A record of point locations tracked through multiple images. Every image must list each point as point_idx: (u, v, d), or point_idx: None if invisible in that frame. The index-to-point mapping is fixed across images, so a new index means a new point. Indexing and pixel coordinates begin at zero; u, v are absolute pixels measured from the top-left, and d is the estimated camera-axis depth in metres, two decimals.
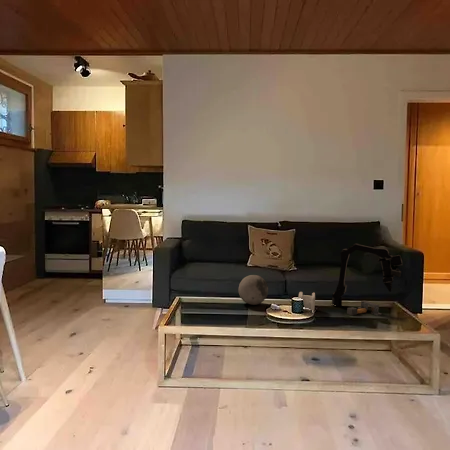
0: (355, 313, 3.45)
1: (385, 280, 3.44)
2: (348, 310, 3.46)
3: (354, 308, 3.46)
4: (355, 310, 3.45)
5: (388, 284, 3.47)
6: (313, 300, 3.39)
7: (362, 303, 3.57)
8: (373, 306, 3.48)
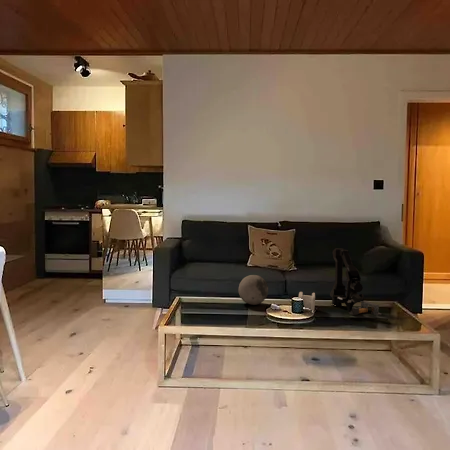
0: (357, 313, 3.46)
1: (338, 299, 3.41)
2: None
3: (356, 308, 3.47)
4: (357, 310, 3.45)
5: (348, 304, 3.44)
6: (313, 300, 3.39)
7: (362, 303, 3.57)
8: (373, 306, 3.48)
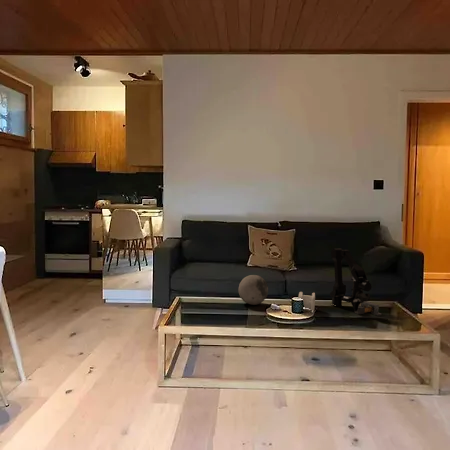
0: (363, 312, 3.48)
1: (344, 299, 3.43)
2: None
3: (361, 307, 3.49)
4: (363, 309, 3.48)
5: (354, 303, 3.47)
6: (313, 300, 3.39)
7: (362, 303, 3.57)
8: (373, 306, 3.48)
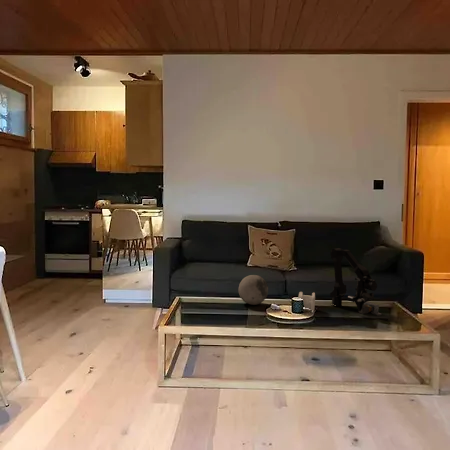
0: (367, 311, 3.50)
1: (348, 298, 3.45)
2: None
3: (365, 307, 3.51)
4: (367, 308, 3.50)
5: (358, 303, 3.48)
6: (313, 300, 3.39)
7: None
8: (373, 306, 3.48)
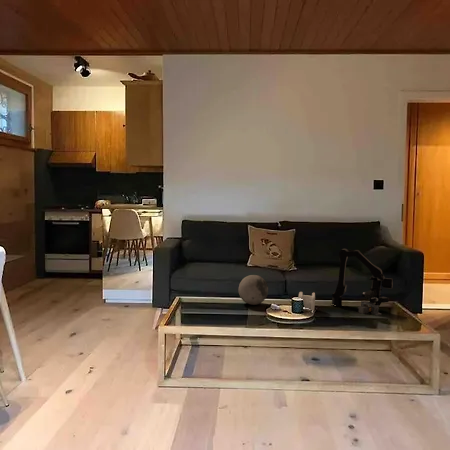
0: (367, 311, 3.50)
1: None
2: (360, 308, 3.51)
3: (366, 307, 3.51)
4: (367, 308, 3.50)
5: None
6: (313, 300, 3.39)
7: (362, 303, 3.57)
8: (373, 306, 3.48)
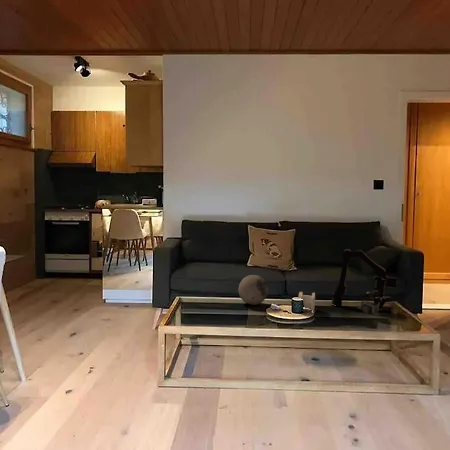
0: None
1: None
2: (364, 308, 3.53)
3: (370, 306, 3.53)
4: None
5: None
6: (313, 300, 3.39)
7: (362, 303, 3.57)
8: (373, 306, 3.48)
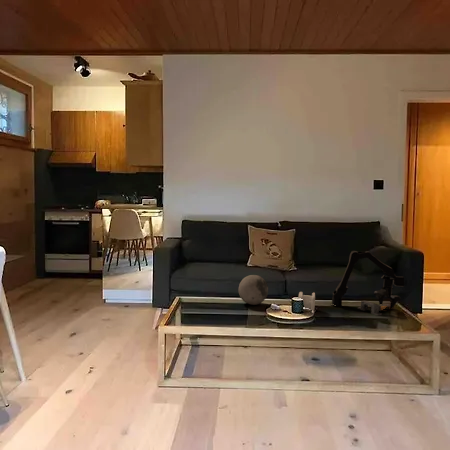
0: (378, 310, 3.56)
1: None
2: None
3: None
4: None
5: None
6: (313, 300, 3.39)
7: (362, 303, 3.57)
8: (373, 306, 3.48)
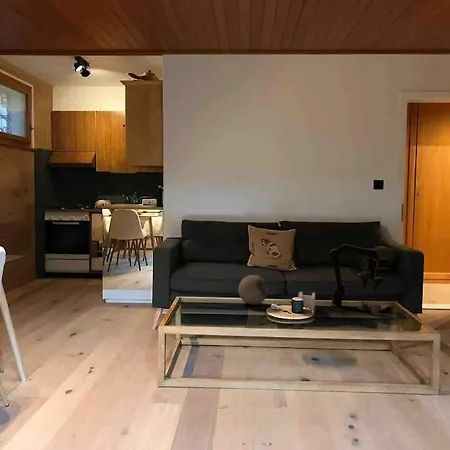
0: (378, 310, 3.56)
1: None
2: None
3: None
4: None
5: None
6: (313, 300, 3.39)
7: (362, 303, 3.57)
8: (373, 306, 3.48)
